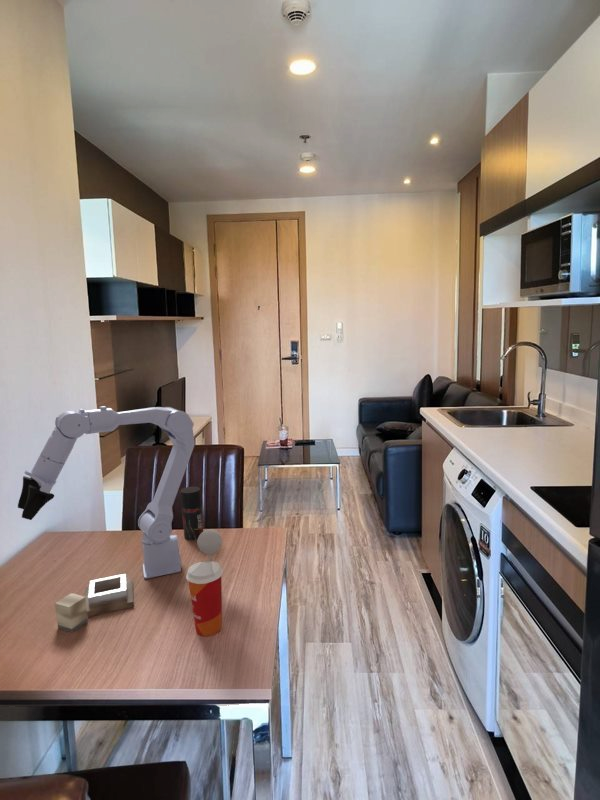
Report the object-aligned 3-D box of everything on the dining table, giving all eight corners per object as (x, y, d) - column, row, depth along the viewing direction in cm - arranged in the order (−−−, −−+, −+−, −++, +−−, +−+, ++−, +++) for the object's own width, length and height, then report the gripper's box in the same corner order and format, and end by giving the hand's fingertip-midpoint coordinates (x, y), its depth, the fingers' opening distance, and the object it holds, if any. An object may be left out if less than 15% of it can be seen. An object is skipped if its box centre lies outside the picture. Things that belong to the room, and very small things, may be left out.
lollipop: (213, 595, 122) (209, 537, 120) (195, 589, 126) (191, 532, 123) (230, 584, 128) (226, 527, 125) (212, 578, 131) (208, 523, 128)
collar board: (132, 582, 131) (130, 569, 130) (133, 606, 119) (132, 592, 119) (86, 591, 127) (84, 578, 126) (83, 617, 116) (81, 602, 115)
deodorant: (199, 540, 154) (195, 493, 151) (181, 539, 155) (177, 492, 153) (206, 532, 160) (203, 486, 157) (189, 531, 161) (185, 486, 158)
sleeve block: (74, 617, 116) (71, 593, 115) (88, 621, 114) (85, 596, 113) (58, 628, 112) (54, 603, 111) (72, 632, 110) (69, 607, 109)
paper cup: (195, 618, 113) (190, 560, 111) (229, 617, 113) (225, 559, 111) (186, 640, 106) (181, 578, 103) (223, 639, 105) (218, 577, 103)
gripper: (30, 447, 122) (2, 499, 120) (40, 459, 110) (9, 518, 108) (59, 457, 126) (32, 508, 124) (71, 470, 114) (42, 527, 112)
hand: (24, 513), depth 117 cm, fingers open, 7 cm apart
